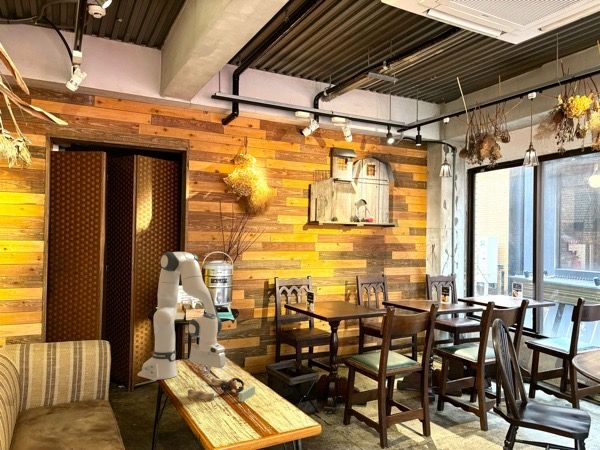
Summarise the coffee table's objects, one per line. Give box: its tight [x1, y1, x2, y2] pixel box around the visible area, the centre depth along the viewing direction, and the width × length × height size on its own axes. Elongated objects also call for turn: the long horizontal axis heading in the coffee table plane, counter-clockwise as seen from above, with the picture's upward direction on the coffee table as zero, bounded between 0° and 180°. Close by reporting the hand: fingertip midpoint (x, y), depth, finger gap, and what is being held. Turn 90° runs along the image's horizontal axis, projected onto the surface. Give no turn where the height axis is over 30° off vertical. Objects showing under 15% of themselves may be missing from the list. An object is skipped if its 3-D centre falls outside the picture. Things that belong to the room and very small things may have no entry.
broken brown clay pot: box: [219, 377, 245, 396], centre depth 228 cm, size 12×9×8 cm
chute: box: [187, 377, 237, 402], centre depth 230 cm, size 14×22×3 cm, turn 156°
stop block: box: [238, 385, 256, 403], centre depth 222 cm, size 2×12×4 cm, turn 156°
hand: (206, 373), depth 231 cm, fingers closed
